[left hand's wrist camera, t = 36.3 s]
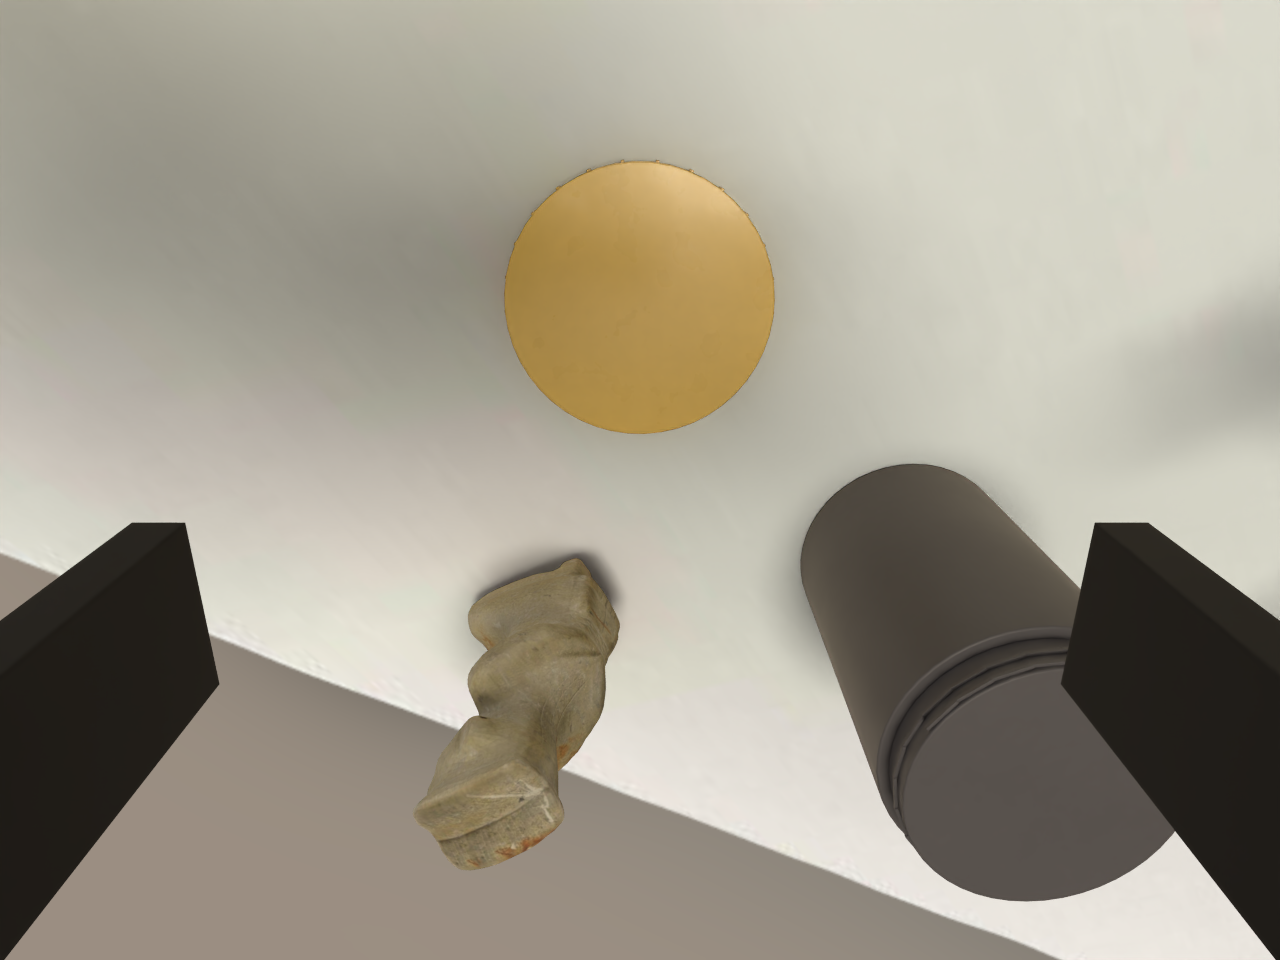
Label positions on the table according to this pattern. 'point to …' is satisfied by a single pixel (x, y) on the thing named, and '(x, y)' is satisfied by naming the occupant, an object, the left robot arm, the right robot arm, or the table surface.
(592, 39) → the table surface
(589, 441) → the table surface
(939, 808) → the jar
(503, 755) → the sculpture
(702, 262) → the lid
